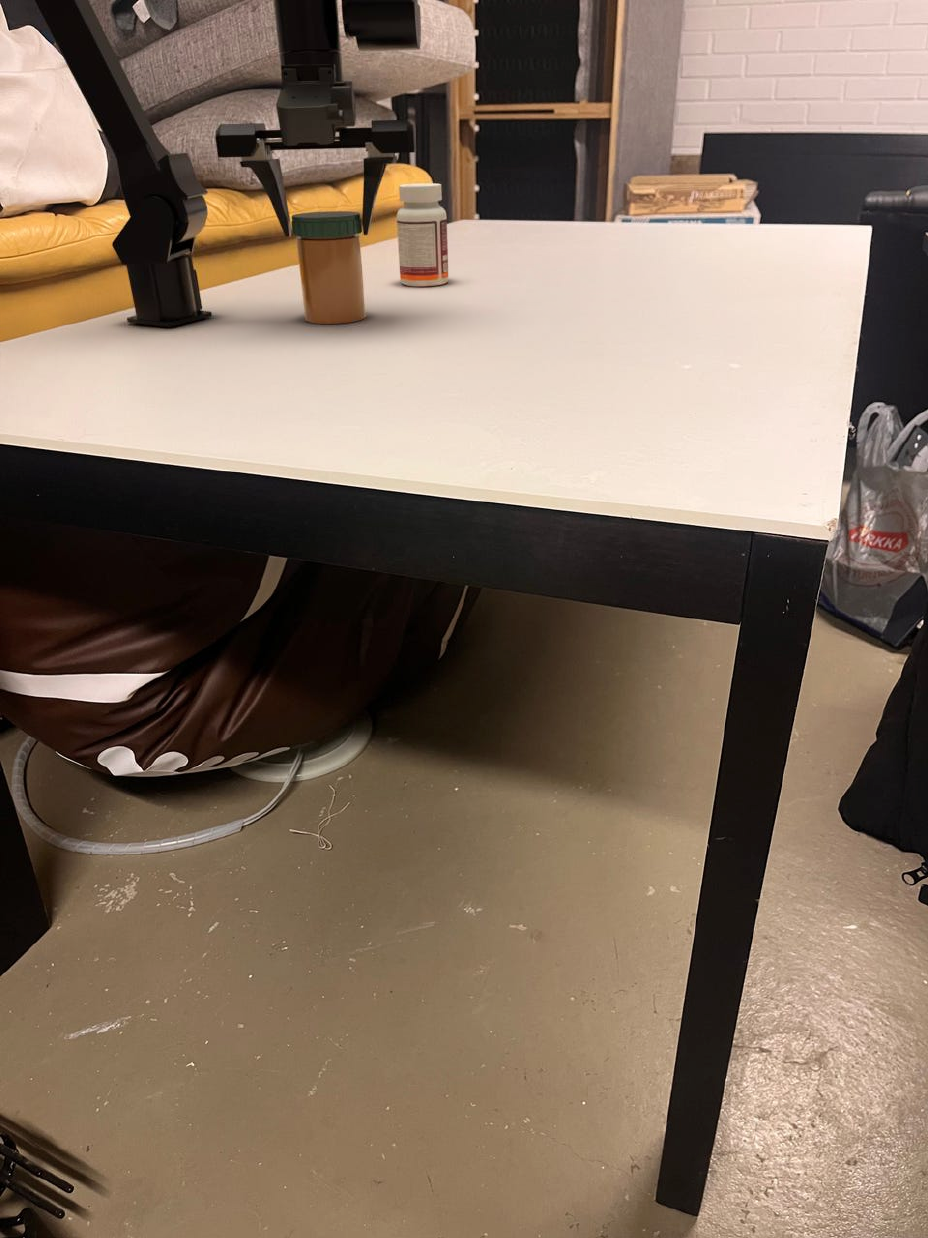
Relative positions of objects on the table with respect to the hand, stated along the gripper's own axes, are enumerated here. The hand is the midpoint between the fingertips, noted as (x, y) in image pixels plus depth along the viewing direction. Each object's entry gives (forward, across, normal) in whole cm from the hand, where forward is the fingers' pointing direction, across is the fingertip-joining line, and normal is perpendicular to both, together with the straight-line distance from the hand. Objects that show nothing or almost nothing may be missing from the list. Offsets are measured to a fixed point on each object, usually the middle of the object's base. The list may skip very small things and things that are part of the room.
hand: (327, 235), depth 89 cm
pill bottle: (+8, +9, +21) cm, 25 cm away
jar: (+8, 0, 0) cm, 8 cm away
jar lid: (-2, 0, 0) cm, 2 cm away
